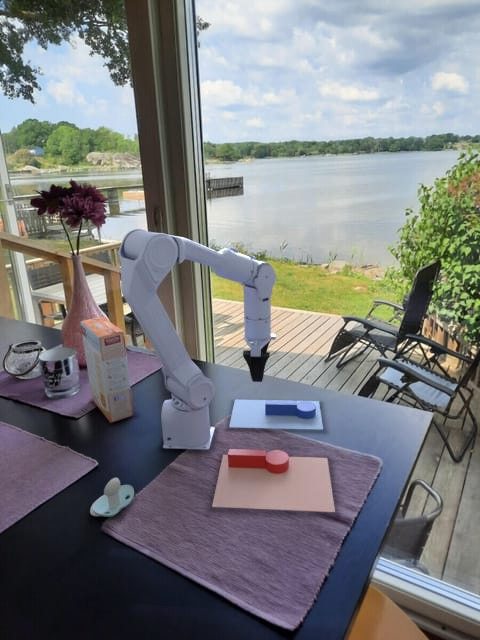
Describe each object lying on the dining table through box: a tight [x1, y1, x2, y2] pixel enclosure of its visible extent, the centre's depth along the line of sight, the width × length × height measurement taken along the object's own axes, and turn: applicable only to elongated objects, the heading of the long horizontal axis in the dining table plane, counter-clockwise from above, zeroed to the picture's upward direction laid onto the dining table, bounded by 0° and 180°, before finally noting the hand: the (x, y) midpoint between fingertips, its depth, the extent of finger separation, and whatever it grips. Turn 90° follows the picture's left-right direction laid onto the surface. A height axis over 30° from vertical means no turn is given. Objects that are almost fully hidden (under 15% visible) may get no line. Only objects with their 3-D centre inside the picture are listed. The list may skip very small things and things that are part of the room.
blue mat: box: [228, 399, 324, 431], centre depth 99 cm, size 20×12×1 cm, turn 85°
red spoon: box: [227, 448, 290, 474], centre depth 82 cm, size 11×4×3 cm, turn 85°
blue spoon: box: [265, 399, 316, 419], centre depth 98 cm, size 11×4×3 cm, turn 85°
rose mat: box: [211, 454, 336, 513], centre depth 78 cm, size 20×14×1 cm
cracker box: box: [80, 316, 134, 424], centre depth 102 cm, size 14×6×21 cm, turn 34°
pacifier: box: [89, 477, 135, 518], centre depth 73 cm, size 7×6×6 cm
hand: (258, 373), depth 99 cm, fingers open, 7 cm apart
